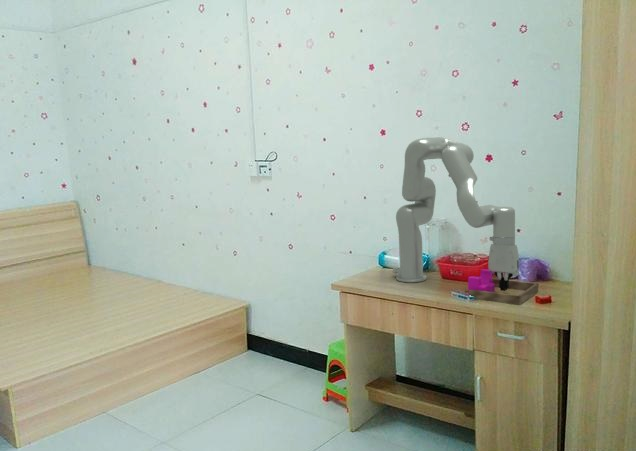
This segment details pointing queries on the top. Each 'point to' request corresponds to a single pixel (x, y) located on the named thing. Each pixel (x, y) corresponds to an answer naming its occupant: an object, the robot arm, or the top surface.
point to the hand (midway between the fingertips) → (504, 289)
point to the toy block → (481, 282)
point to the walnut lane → (507, 298)
